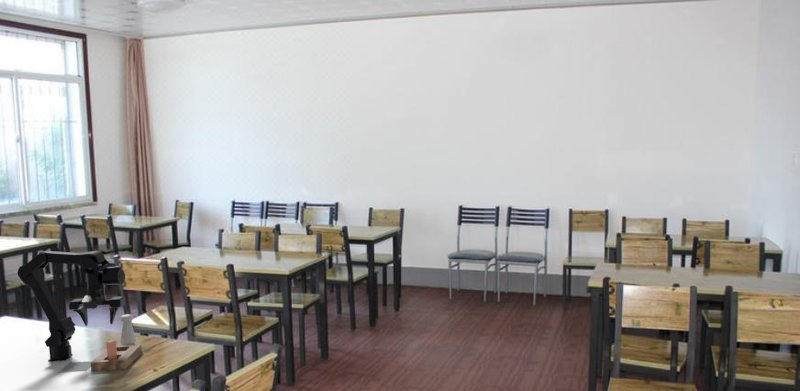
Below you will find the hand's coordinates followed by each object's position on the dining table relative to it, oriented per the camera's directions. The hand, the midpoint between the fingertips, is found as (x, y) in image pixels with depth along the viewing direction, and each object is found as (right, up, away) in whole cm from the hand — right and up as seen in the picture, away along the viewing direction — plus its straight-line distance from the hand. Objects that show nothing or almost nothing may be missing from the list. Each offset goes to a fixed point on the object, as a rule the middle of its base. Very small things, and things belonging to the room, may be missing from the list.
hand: (99, 324), depth 235 cm
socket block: (+9, -13, -4) cm, 16 cm away
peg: (+9, -13, -9) cm, 18 cm away
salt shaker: (+5, -12, +14) cm, 19 cm away
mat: (-4, -14, -8) cm, 17 cm away
